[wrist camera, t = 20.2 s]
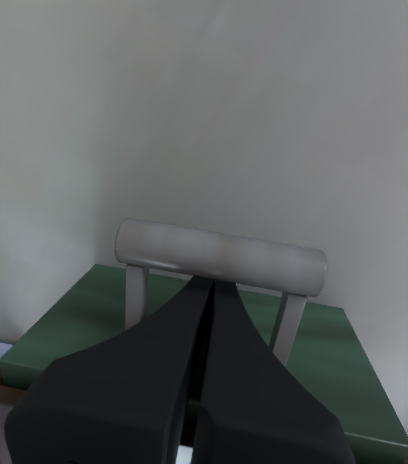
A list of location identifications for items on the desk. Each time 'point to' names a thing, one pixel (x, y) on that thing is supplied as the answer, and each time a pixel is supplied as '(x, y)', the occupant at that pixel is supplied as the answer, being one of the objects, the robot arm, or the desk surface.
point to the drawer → (259, 309)
